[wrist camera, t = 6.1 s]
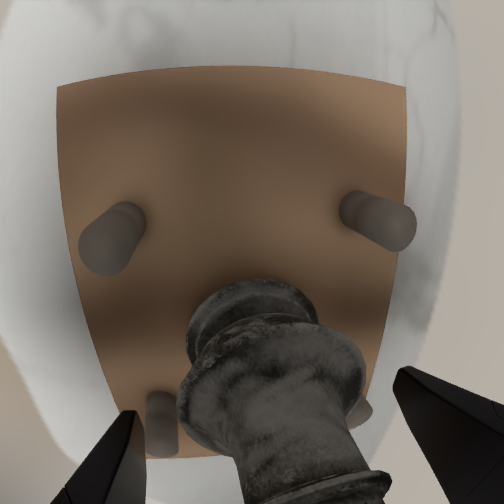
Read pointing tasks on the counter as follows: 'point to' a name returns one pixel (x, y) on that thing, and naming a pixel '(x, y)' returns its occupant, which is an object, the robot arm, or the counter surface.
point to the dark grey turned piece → (277, 396)
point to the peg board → (226, 212)
